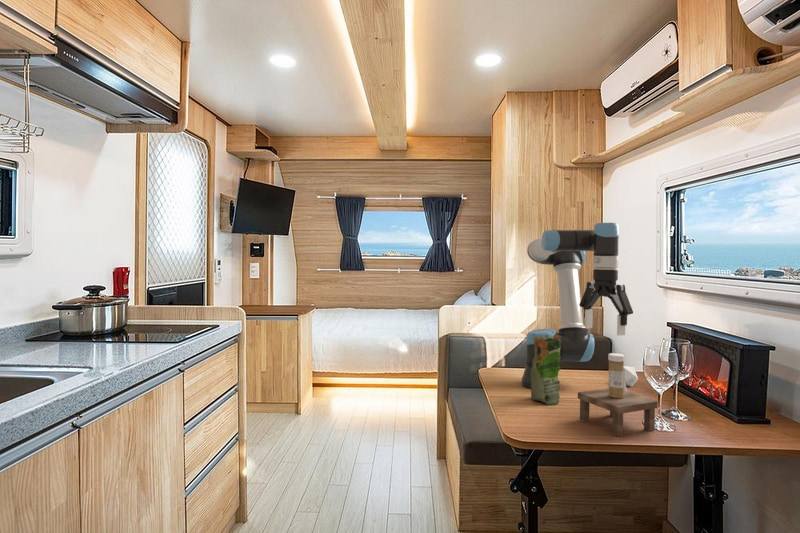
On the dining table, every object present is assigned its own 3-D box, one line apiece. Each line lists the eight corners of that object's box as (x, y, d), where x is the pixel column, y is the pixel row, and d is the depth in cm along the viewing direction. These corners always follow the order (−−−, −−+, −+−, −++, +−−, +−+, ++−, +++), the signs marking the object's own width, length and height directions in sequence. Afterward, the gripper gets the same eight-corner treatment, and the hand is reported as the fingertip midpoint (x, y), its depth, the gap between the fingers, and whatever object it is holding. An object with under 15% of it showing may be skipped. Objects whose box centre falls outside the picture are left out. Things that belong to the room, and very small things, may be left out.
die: (626, 390, 178) (641, 372, 177) (607, 376, 184) (622, 358, 183) (630, 393, 184) (644, 375, 183) (612, 379, 190) (626, 362, 189)
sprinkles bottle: (624, 396, 138) (625, 353, 138) (623, 399, 134) (623, 356, 134) (609, 393, 140) (609, 352, 140) (607, 397, 137) (607, 354, 137)
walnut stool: (577, 419, 142) (577, 392, 142) (614, 413, 148) (614, 387, 148) (618, 437, 127) (618, 407, 127) (657, 430, 133) (657, 401, 133)
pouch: (561, 398, 165) (561, 332, 165) (562, 408, 153) (563, 337, 153) (530, 395, 168) (531, 331, 168) (530, 404, 157) (530, 335, 157)
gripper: (569, 267, 156) (568, 325, 157) (629, 270, 132) (627, 339, 133) (585, 267, 158) (584, 324, 159) (646, 270, 135) (645, 337, 136)
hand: (604, 331), depth 146 cm, fingers open, 13 cm apart
